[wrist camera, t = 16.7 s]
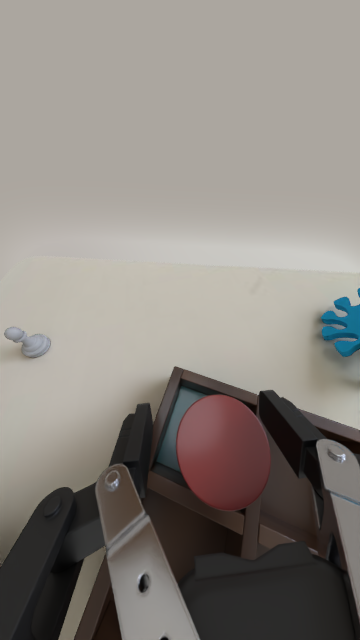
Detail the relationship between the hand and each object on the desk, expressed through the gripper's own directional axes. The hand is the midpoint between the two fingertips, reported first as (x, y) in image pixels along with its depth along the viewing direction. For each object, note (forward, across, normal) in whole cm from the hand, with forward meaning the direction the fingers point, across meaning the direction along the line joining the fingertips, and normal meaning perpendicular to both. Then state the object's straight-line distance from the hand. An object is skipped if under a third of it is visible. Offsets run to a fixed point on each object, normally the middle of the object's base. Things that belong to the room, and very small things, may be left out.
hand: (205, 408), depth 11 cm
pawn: (+10, +17, -2) cm, 20 cm away
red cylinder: (+2, 0, +4) cm, 5 cm away
